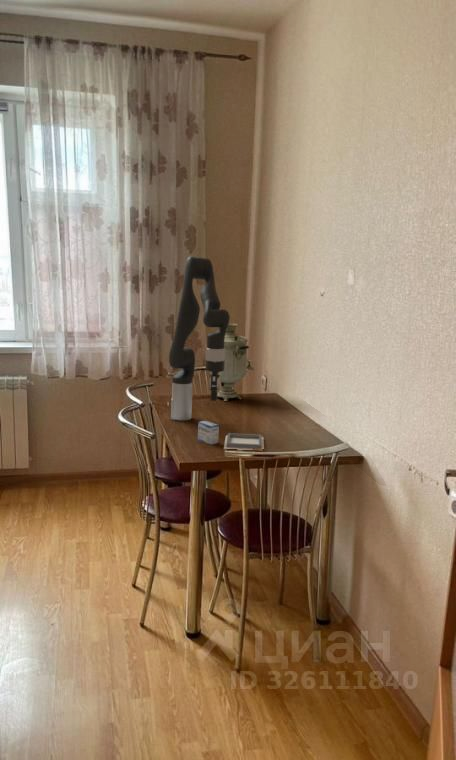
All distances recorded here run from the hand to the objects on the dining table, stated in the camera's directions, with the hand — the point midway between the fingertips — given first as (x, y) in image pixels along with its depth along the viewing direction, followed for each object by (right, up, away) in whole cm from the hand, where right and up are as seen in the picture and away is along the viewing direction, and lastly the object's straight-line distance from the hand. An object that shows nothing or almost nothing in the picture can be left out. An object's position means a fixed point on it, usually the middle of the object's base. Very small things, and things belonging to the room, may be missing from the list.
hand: (214, 398), depth 249 cm
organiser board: (+12, -19, +2) cm, 23 cm away
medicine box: (-3, -19, +3) cm, 19 cm away
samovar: (+8, -3, +79) cm, 79 cm away
